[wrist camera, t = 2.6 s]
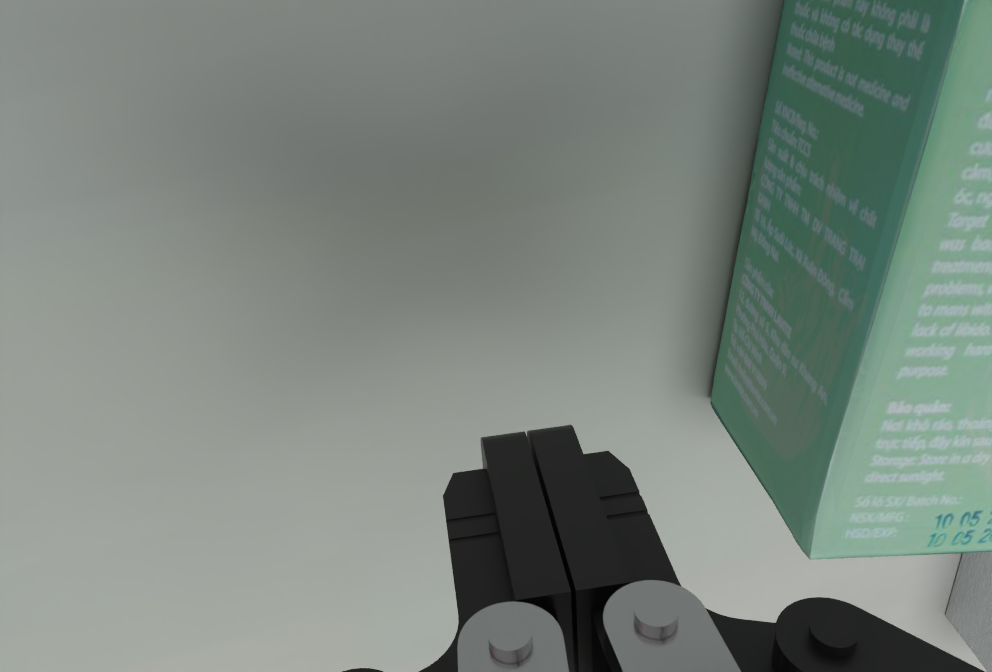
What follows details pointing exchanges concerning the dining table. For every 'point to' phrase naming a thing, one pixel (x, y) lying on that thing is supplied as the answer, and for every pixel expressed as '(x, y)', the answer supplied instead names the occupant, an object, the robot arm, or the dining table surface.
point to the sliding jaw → (974, 605)
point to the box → (869, 281)
